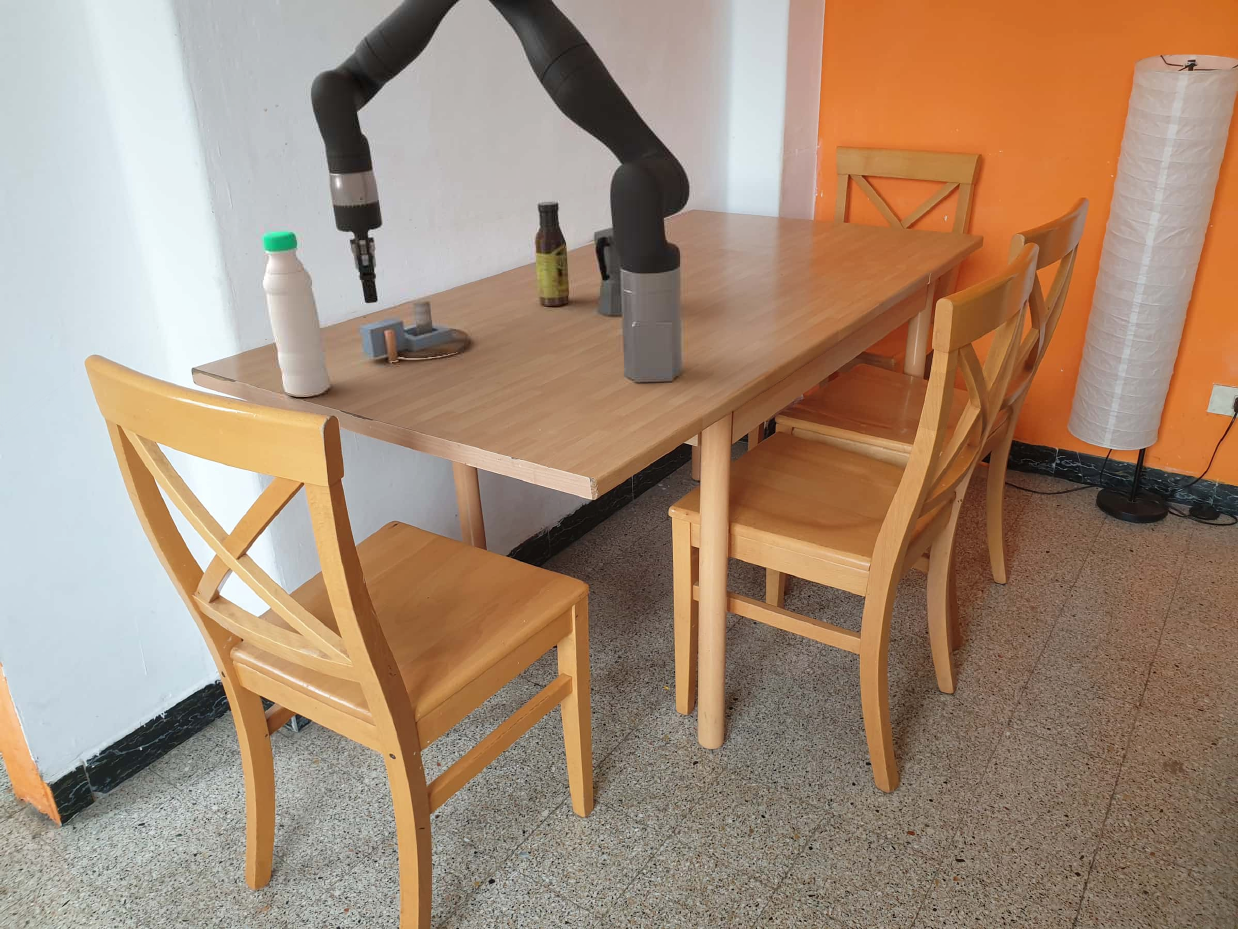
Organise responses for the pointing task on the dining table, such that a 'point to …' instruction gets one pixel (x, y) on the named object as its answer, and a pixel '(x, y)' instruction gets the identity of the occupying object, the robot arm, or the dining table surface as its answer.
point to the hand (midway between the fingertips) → (371, 301)
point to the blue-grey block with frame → (400, 337)
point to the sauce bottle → (551, 257)
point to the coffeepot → (608, 274)
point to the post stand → (425, 326)
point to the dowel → (391, 345)
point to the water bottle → (294, 317)
